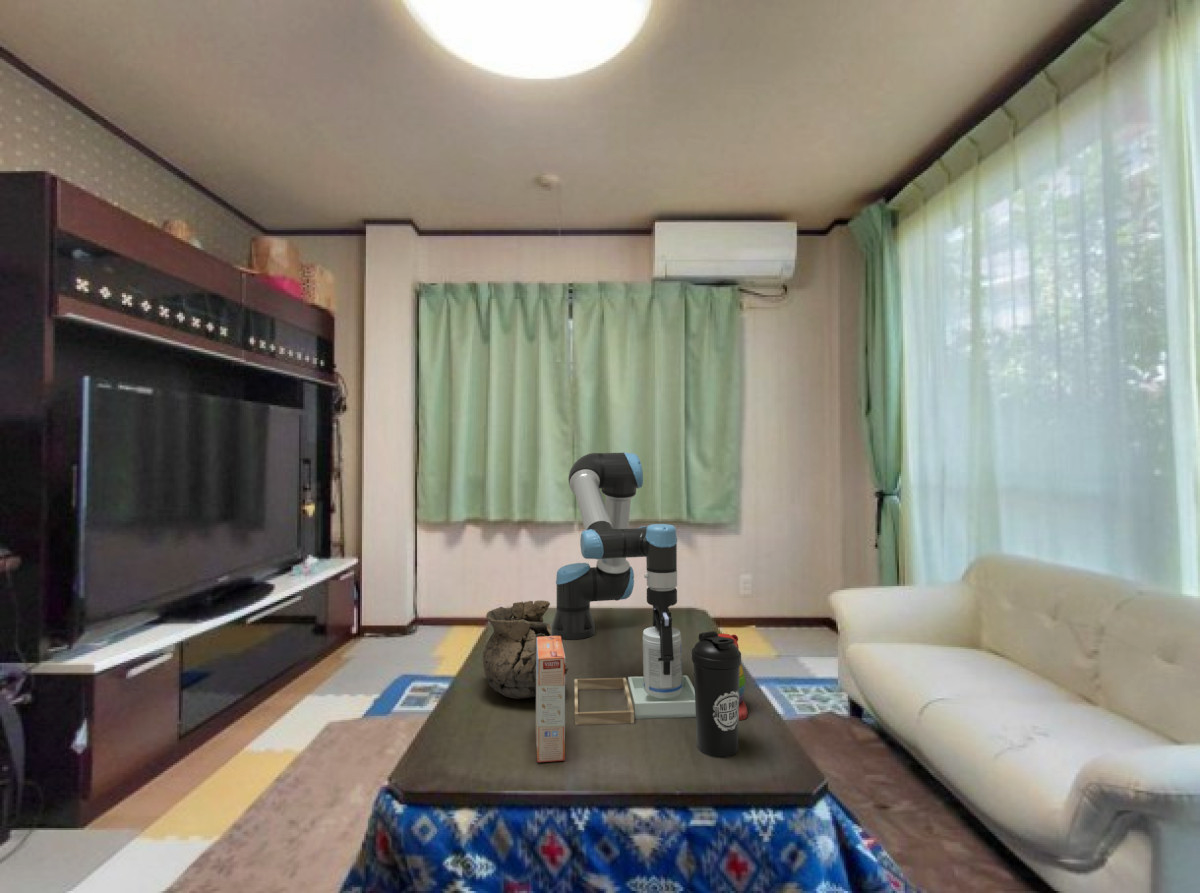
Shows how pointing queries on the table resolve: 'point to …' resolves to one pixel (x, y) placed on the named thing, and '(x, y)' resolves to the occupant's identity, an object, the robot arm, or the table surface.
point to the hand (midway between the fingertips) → (662, 678)
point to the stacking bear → (741, 681)
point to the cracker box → (550, 699)
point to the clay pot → (515, 648)
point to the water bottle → (716, 694)
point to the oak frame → (603, 716)
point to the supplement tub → (653, 665)
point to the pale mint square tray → (661, 701)
